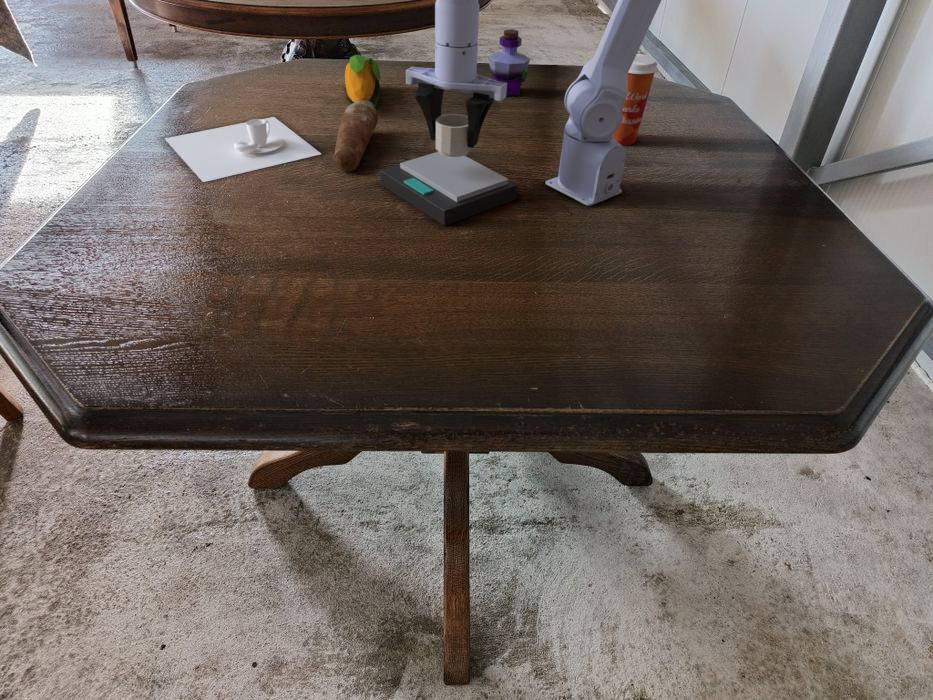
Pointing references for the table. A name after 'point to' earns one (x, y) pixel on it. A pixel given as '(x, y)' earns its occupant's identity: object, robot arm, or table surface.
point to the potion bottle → (509, 63)
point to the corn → (362, 80)
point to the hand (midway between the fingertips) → (454, 141)
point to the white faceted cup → (452, 135)
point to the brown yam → (354, 134)
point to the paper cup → (635, 98)
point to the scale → (448, 186)
